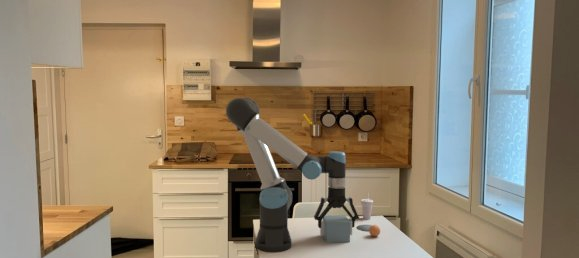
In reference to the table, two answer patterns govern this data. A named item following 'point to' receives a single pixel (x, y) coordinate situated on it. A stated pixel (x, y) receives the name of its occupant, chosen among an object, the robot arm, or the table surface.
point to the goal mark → (364, 227)
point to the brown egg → (374, 230)
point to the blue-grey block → (336, 229)
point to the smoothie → (367, 207)
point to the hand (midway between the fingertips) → (336, 234)
